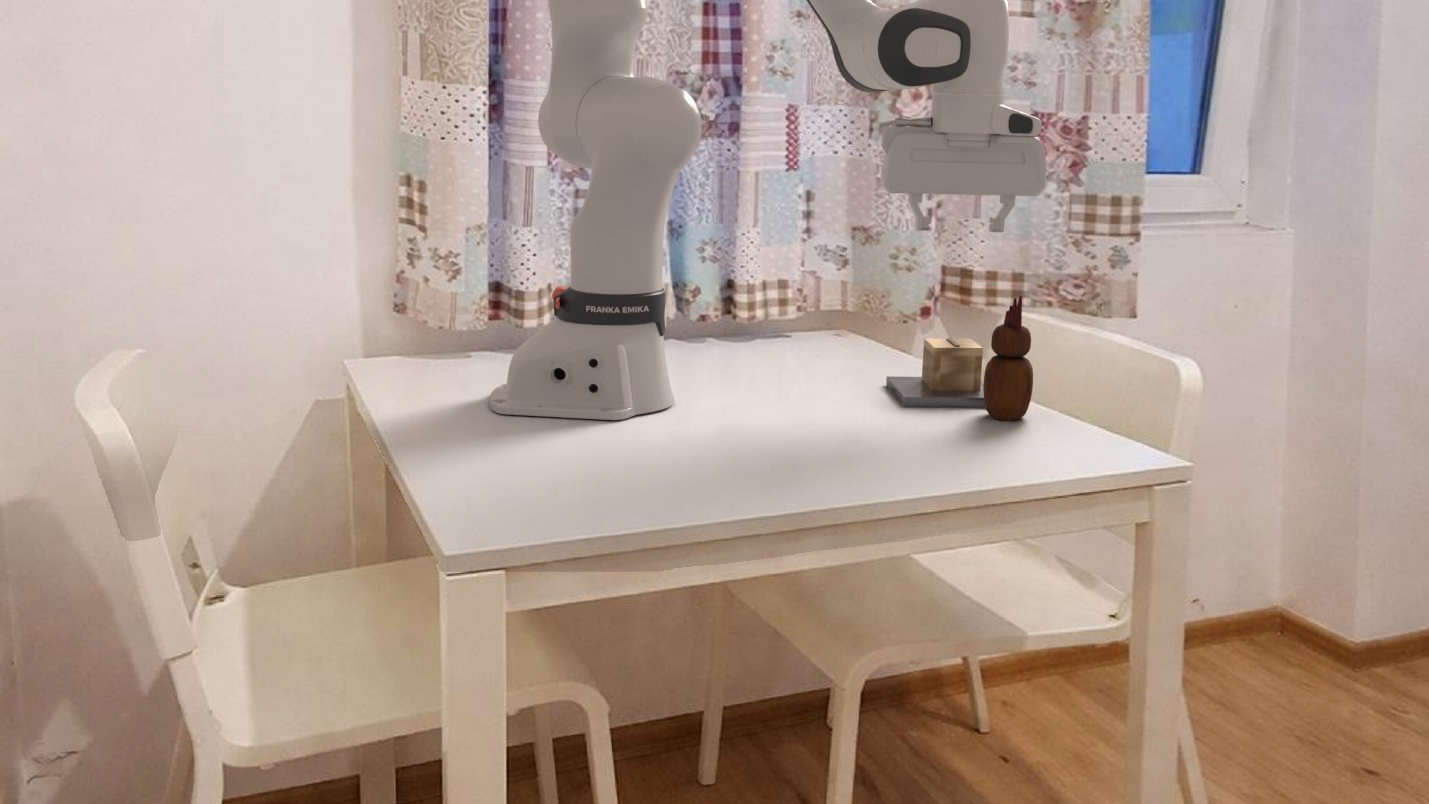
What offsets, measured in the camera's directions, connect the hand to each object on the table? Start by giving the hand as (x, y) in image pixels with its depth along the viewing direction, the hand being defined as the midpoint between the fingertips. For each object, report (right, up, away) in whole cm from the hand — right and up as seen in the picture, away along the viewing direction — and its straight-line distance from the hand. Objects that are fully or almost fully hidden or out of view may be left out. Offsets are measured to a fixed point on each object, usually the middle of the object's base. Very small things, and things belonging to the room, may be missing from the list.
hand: (959, 231), depth 166 cm
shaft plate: (-2, -21, +4) cm, 21 cm away
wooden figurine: (+4, -23, -7) cm, 25 cm away
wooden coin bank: (0, -19, +5) cm, 20 cm away
